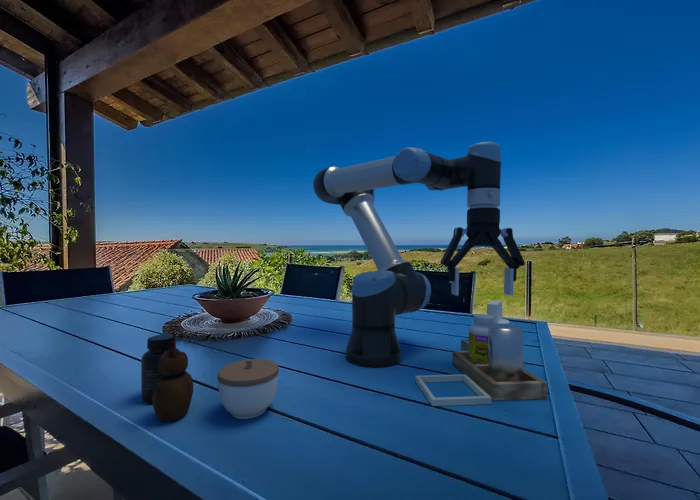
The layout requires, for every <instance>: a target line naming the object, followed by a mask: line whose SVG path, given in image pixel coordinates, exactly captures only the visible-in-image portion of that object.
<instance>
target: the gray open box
mask: <svg viewBox="0 0 700 500" xmlns="http://www.w3.org/2000/svg"><path fill="white" fill-rule="evenodd" d="M460 351H469V338H461V339H460Z"/></svg>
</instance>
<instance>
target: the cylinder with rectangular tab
mask: <svg viewBox="0 0 700 500" xmlns="http://www.w3.org/2000/svg"><path fill="white" fill-rule="evenodd" d="M486 315H491V316H494V323H493V324H495V323H502V324H511V323H510V320H508V319H504V318H503V300H502V301H501V300H494V299H493V300H491V301H489V302H488V303H486Z"/></svg>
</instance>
